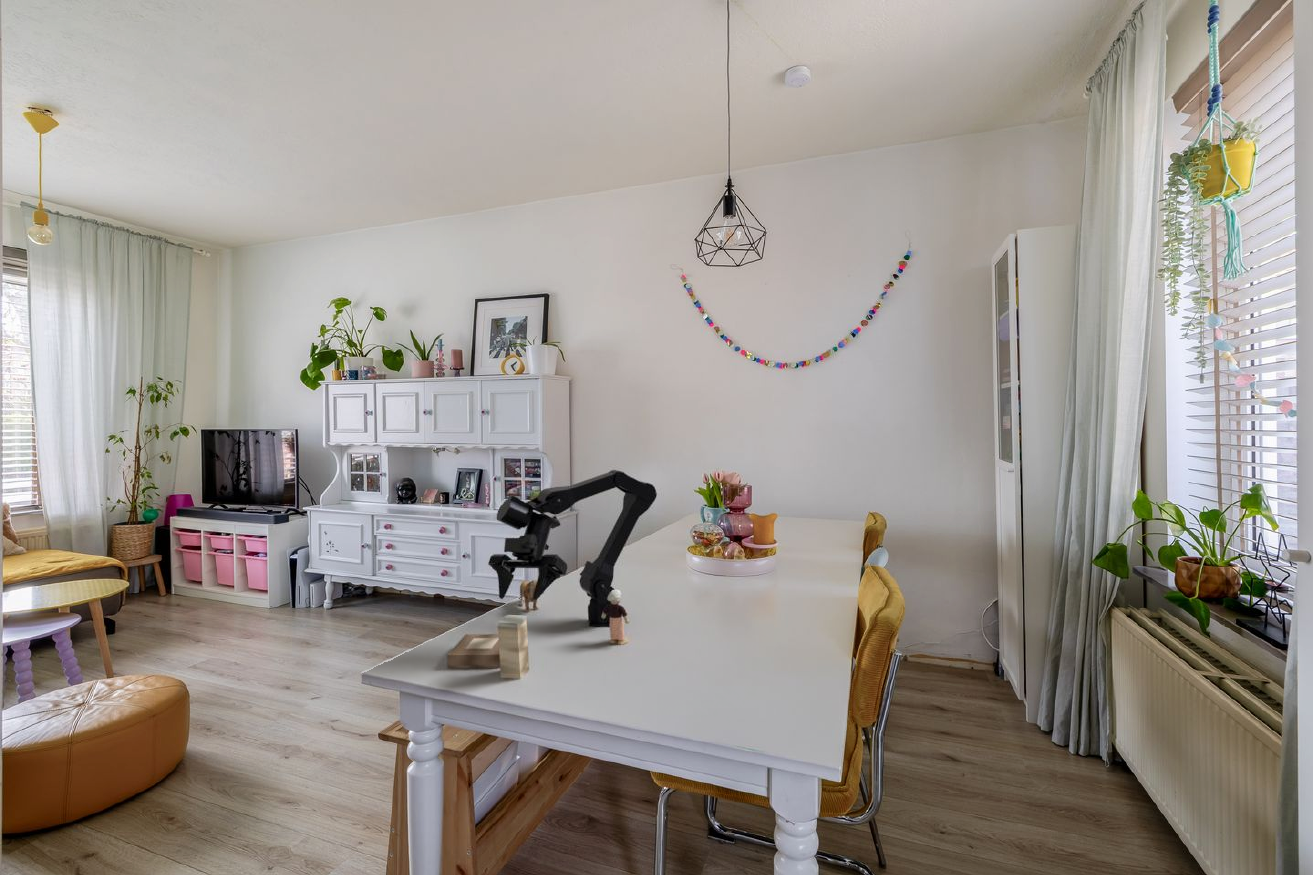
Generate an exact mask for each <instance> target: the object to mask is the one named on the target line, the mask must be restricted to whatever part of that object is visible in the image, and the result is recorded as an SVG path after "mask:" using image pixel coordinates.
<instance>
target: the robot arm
mask: <svg viewBox="0 0 1313 875" xmlns="http://www.w3.org/2000/svg"><path fill="white" fill-rule="evenodd" d="M615 488H617V489H618V490H619V491H621V492H622V493H624V495H623V500H622V510H621V512H620V514H619V515H618V518H617V520H616V522H615V523H614V525H613V528H612V530H611V531H610V533H609V536H608V537H607V540H606V541H605V543H604V545H603V547H602V548H601V550H600V553H599V554H598V556H597V558H596V559H595V560H593V561H592V562H591V561H589V560H587V561H586V562H585V564H584V566H583V570H581V572H580V573H579V576H580V578H579V586H580V588H581V590H583V591H584V592H585V593H586V595H587V596H588V597H589V598H590V599H589V603H588V605H587V617H588V619H587V621H588V622H589V623H588V625H589V627H610V614H606V617H605V618H602V617H601V616H602V613H603V609H604V608H605V607H606V606H608V605H610V604H612V603H611V602H610V601H608V599H607V598H608V595H609V593H610V592H611V591H612V590H615V588H614V587H612V583H613V580H614V569H615V566H616V564H617V561H618V559H619V558H620V555H621V553H622V552H623V551H624V550H623V549H624V547H625V545H626V544H627V542H628V540H629V538H630V536H631V533H632V532H633V529H634V528H635V527H636V526H635V525H637V524H636V523H637V522H638V520H639V519H640V517H641V516H643V514H644V513H646V512H647V511H648V510H650V508H651V506H652V505H653V503H654V502H655V501H656V500H657V495H658V494H657V493H658V492H657V491H656V488H655V486H654V484H652V483H649V482H646V481H640V480H638V479H636V478H633V477H632V476H630V475H628V474H626V473H625V472H624V471H622V470H617V469H612V470H610V471H608V472H605V473H602V474H600V475H597V476H595V477H594V476H593V477H592V478H589V479H585V480H582V481H580V482H577V483H575V484H572V485H566V486H564V485H563V486H553V487H549V488H543V489H541V491H539V493H538V496H536V497H534V498H532V499H530V500H528V501H526V502H525V501H524V500H521V499H519V497H517V496H516V495H512V494H510V495H509V497H508V498H507V499H506V500H505V501H503V503H502V504H501V505H500V506H499V508H498V510H497V513H496V520H497V521H498V522H500V523H503V524H504V525H507V526H509V527H512V528H513V529H515V530H518V531H519V530H521V529H522V528H524V529H525V532H524V535H520V536H519V537H506V538H504V539H505V540H504V546H503V548H504V549H503V552H504V553H505V554H504V553H499V554H498V553H495V554H492V555H490V557H489V560H488V563H487V564H488V565H489V567H491V568H492V569H493V570H494V571H495V572H496V574H497V581H498V598H499V599H500V600H503V599H505V596H506V595H507V592H508V590H509V588H510V586H511V583H512V581H513V580H514V577H515V575H514V574H513V573H515V572H516V569H538V576H537V577H538V578H537V579H536V580H537V584H536V587H535V590H534V595H533V599H534V600H537V601H538V599H540V597H541V596H542V595H543V594H542V593H543V592H544V593H545V591H546V590H547V589H548V588H549V587H550V586H552V585H551V584H553V583H554V582H555V581H556V580H557V579H560V578H561V576H566V575H567V570H568V564H567V562H566V561H565V560H564V559H563V558H562V557H560V556H559V555H558V554H550V553H549V554H544V553H545V551H548V550H549V547H550V545H549V544H547V543H548V540H549V536H550V533H551V532H550V531H551V529H552V530H554V529H556V528H557V527H560V526H561V522H560V521H559V519H558V518H557V516H556V515H559V514H562V513H564V512H566V511H567V510H568V509H571V507H573V506H574V505H575V504H576V503H577V502H579V501H582V500H584V499H587V498H590V497H594V496H596V495H598V494H601V493H604V492H607V491H609V490H612V489H615ZM546 513H548V514H550V515H554V516H550V515H548V514H546ZM508 552H509V553H512V554H511V555H512V557H514V558H516V559H512V558H511V557H510V556H508V555H507V554H506V553H508Z"/></svg>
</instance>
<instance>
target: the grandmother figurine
mask: <svg viewBox="0 0 1313 875" xmlns="http://www.w3.org/2000/svg"><path fill="white" fill-rule="evenodd" d="M614 589H615V588H614ZM607 599H608V601H610V602H611V603H612V604H610V605H608V606H606V607H605V608H604V609H603V613H602V616H601V617H602V618H605V617H606V614H610V626H609V634H610V640H609V644H616V643H618V645H619V646H620V645H621V646H622V645H625V644H628V643H629V640H628V639H627V638H626V637H625V631H624V630H625V629H624V628H625V627H624V623H625V624H630V620H629V617H628V613H627V611H626V609H625V607H623V606H622V605H620V603H621V602H622V601H621V600H622V592H621V590H619V589H615V590H612V591H611V592H610V593H609V595H608V598H607ZM617 641H618V642H617ZM615 642H616V643H615Z"/></svg>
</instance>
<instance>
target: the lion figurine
mask: <svg viewBox="0 0 1313 875" xmlns="http://www.w3.org/2000/svg"><path fill="white" fill-rule="evenodd" d="M537 580H538V579H533V580H531V581H528V580H524V581H522V582H521V583H520V586H519V598H518V599H519V600H520V601H519V604H518V606H519V607H524V605H525V611H524V612H525V613H527V614H528V613H530V612H531V610H530V609H531V608H530V605H529V603H533V605H532V608H533V610H534V611H538V610H539V607H537V602H538V599H537V600H534V599H533V595H534V590H535V587H536V584H537ZM544 594H545V591H544V592H543V593H542V595H544ZM520 598H521V599H520Z"/></svg>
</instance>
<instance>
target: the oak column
mask: <svg viewBox="0 0 1313 875" xmlns="http://www.w3.org/2000/svg"><path fill="white" fill-rule="evenodd" d="M527 620H528V616H527V615H519V614H518V615H517V614H516V615H515V614H506V615H505V616H504V617H502V618H501V619H500V620H498V621H497V623H496V624H497V634H498V637H499V654H500V668H499V670H500V678H502V679H503V678H504V679H512V680H513V679H514V680H521V679H522V678H523V677H524V676H525V675H526V674H527V673H528V672H529V671H530V661H529V660H530V659H529V658H530V657H529V642H528V640H529V639H528V624H527V623H528V622H527Z"/></svg>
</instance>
